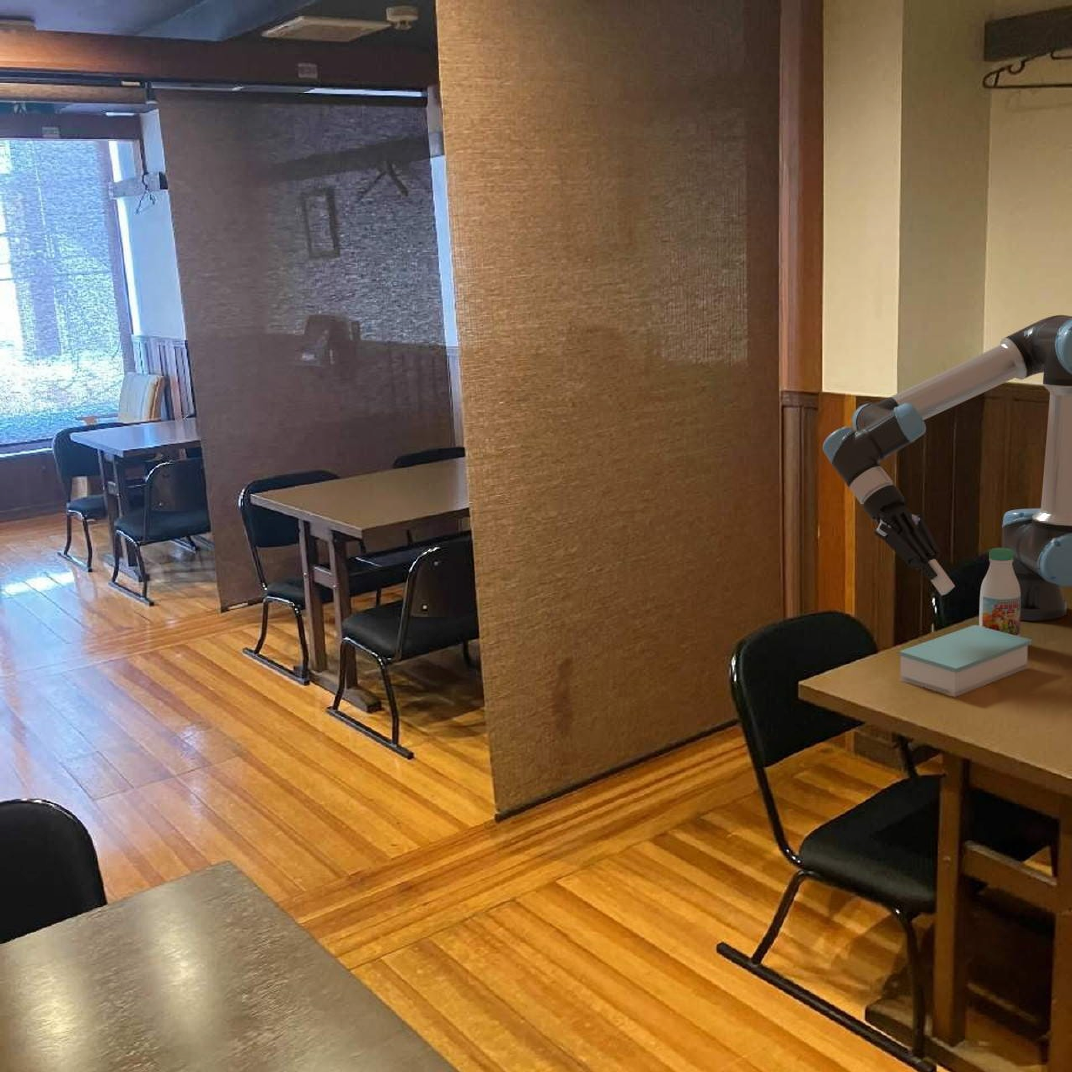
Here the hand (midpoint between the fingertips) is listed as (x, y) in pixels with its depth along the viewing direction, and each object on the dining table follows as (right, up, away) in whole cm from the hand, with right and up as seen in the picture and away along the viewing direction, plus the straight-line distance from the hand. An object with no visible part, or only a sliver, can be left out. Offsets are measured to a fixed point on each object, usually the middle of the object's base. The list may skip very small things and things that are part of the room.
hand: (948, 590), depth 219 cm
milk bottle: (+16, -12, +15) cm, 25 cm away
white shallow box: (+3, -16, 0) cm, 16 cm away
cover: (+3, -11, -1) cm, 12 cm away
